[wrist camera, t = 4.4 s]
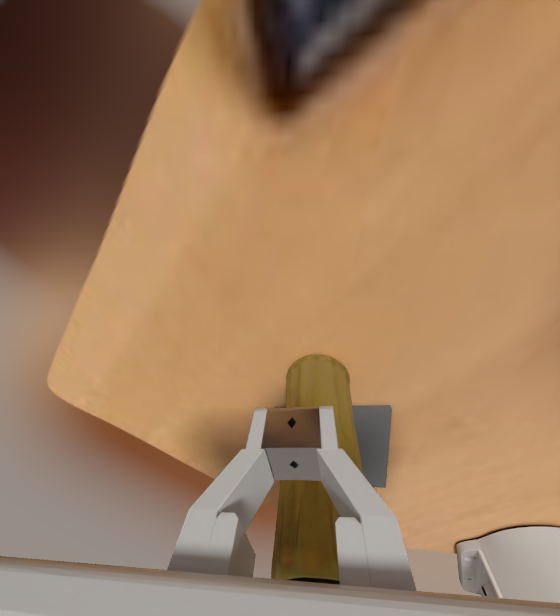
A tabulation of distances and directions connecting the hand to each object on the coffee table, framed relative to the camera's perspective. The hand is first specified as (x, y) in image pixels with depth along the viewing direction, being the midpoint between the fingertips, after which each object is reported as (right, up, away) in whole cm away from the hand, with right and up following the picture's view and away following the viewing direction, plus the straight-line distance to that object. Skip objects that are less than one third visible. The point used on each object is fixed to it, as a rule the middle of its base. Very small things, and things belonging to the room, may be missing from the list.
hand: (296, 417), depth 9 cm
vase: (+3, -3, +15) cm, 15 cm away
